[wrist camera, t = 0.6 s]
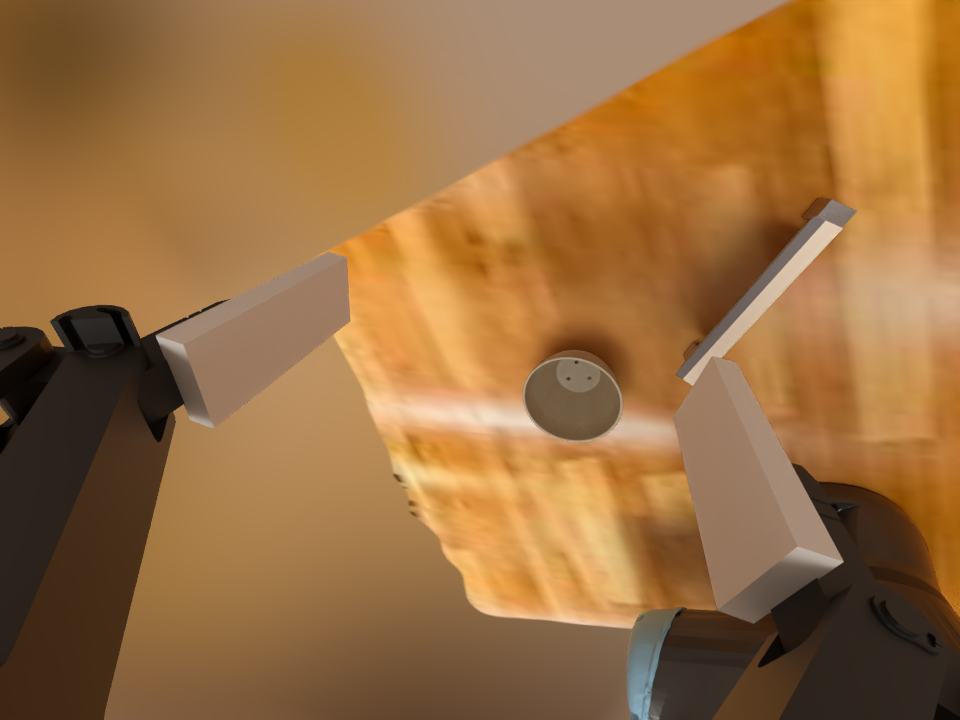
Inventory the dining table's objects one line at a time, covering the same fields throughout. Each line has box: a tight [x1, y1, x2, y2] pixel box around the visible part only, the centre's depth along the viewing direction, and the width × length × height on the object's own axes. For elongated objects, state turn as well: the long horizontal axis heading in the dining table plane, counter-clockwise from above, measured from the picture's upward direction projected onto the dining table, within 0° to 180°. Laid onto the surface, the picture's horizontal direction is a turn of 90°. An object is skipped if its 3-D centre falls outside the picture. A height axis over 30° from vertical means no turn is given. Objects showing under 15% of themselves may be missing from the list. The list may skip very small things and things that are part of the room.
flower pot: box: [523, 350, 623, 442], centre depth 41 cm, size 10×10×7 cm
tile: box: [676, 216, 843, 386], centre depth 28 cm, size 12×12×2 cm
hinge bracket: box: [683, 198, 857, 361], centre depth 34 cm, size 2×17×2 cm, turn 156°
